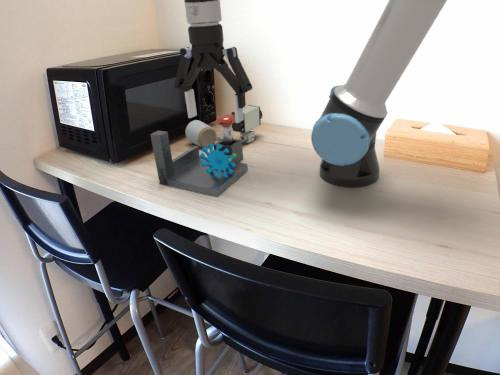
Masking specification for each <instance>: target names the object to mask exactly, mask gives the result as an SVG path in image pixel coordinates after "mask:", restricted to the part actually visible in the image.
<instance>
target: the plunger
mask: <svg viewBox="0 0 500 375" xmlns="http://www.w3.org/2000/svg"><path fill="white" fill-rule="evenodd" d="M216 123H217V125H219V126H220V129H221V140H222V141H223V145H228V146H231V145H232V144H233V139H234V138H233V137H234V136H233V129H232V124H234V123H235V116H234V115H232V113H223V114H219V115H217V116H216Z"/></svg>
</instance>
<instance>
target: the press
mask: <svg viewBox="0 0 500 375" xmlns="http://www.w3.org/2000/svg"><path fill="white" fill-rule="evenodd" d="M150 139H151V140H150V141H151V145H152V151H153V156H154V162H155V165H156V172H157V176H158V183H159V185H162V186H166V187H170V188H176V189H179V190H184V191H189V192H192V193H198V194H202V195H206V196H209V197H210V196H211V197H215V198H218V197H219V196H221V195H222V194H223V193H224V192H226V190H227V189H228V188H230V187H231V186H232V185H233V184H234V183H235V182H237V181H238V180H239V179H240V178H241V177H243V176H244V175H245V174H246V173H248V171H249V170H248V169H249V168H248V163H244V162H243V163H241V162H242V161H243V160H244V148H243V142H242V140H240V139H237V138H236V139H235V138H233V144H232V145H231V146H228V145H223V141H222V139H220V141H219V142H218V141H216V143H213V144H214V147H213V150H214V151H215V150H216V146H217V145H218V144H220V145H221V146H222V147H221V149H219V151H220V152H221V151H224V150H225V148H227V149H228V150H229V152H228V154H225V153H224V154H225V155H227V156H230V155H232V154H233V153H235V154H236V157H235V158H234V160H233V161H232V163H235V164H236V165H235V167H234V168H231V167H230V165H229V164H228V165H229V167H230V168H231V169H232V170H233V171H234V172H233V173H232V174H231V175H229V174H228V170H227V169H226V173H227V175H228V177H227V178H222V175H223V172H222V171H220V173H219V175H220V176H219V177H218V178H215V177H214V174H215V173H217V171H216V170H213V171H212V172H211V173H210V174H207V172H206V169H207V168H209V166H204V167H202V166H201V162H202V161H205V162H206V163H208V162H207V161H206V160H204V159H201V158H199V156H200V149H199V148H200V147H199V146H198V145H193V146H192V147H191V148H190V149H188V150H186V151H184V152H183V153H181V154H180V155H177V156H176V157H174V158H173V157H172V150H171V144H170V139H169V133H168V131H165V130H163V131H162V130H157V131H153V132H152V133H150Z"/></svg>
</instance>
